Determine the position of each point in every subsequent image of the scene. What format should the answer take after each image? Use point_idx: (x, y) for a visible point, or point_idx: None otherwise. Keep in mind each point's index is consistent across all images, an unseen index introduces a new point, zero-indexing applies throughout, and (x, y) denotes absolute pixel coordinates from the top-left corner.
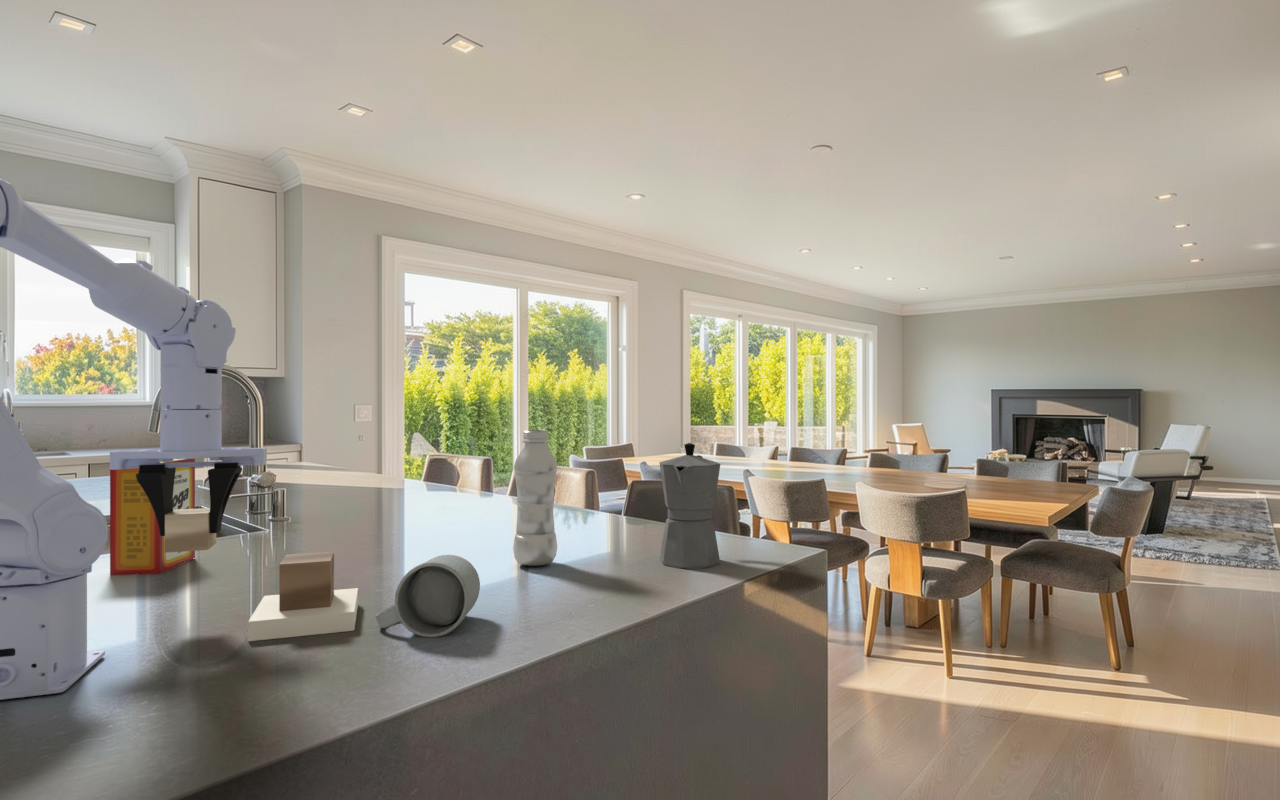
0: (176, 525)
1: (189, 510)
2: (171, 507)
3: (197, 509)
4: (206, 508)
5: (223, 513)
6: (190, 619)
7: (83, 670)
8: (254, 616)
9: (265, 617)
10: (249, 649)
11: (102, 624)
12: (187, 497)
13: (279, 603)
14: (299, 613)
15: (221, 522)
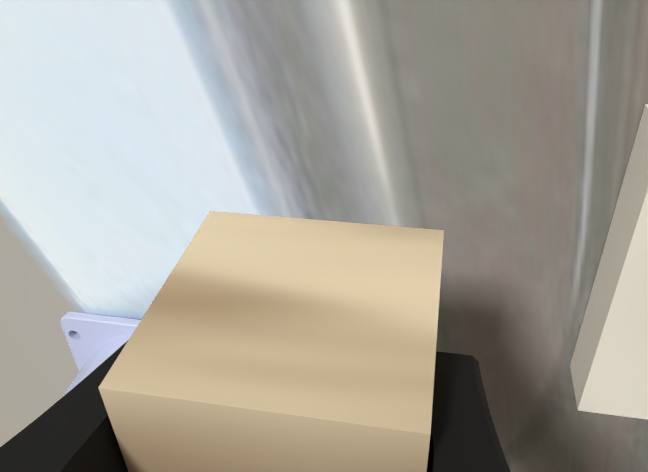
0: None
1: (238, 469)
2: (93, 466)
3: (285, 453)
4: (345, 431)
5: (500, 454)
6: (367, 77)
7: None
8: (598, 375)
9: (631, 397)
10: (571, 412)
11: (78, 26)
12: None
13: None
14: None
15: (483, 398)
